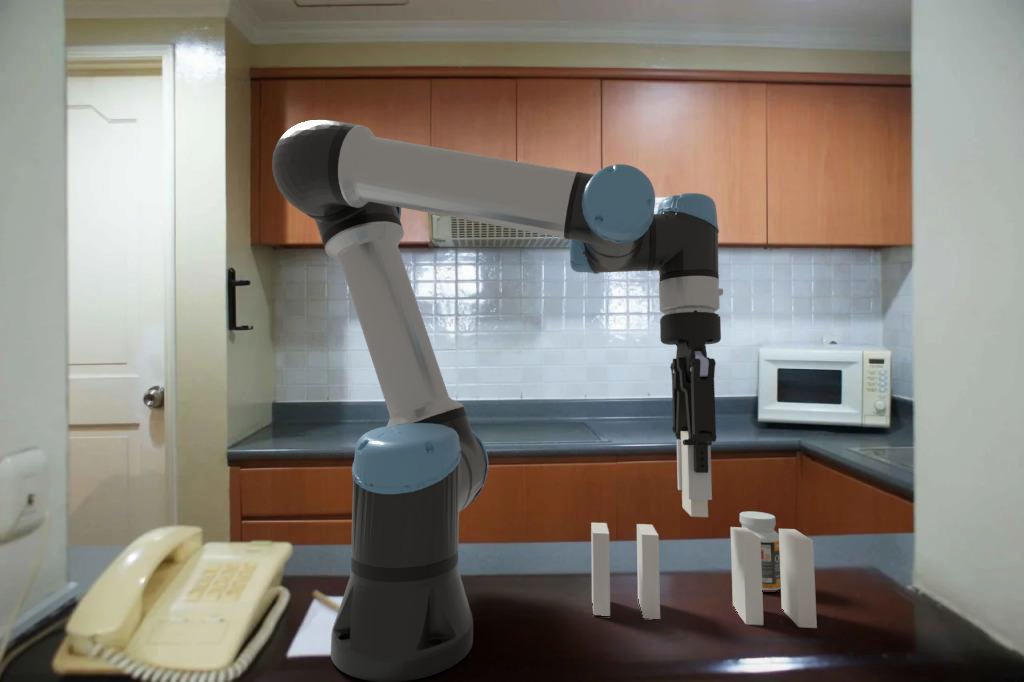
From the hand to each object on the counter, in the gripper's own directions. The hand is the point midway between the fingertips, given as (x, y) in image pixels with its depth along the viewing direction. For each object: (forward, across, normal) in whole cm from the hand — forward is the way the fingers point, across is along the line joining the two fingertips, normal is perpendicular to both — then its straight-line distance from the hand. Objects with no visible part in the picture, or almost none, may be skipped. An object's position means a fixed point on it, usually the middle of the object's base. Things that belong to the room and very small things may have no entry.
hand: (693, 493), depth 66 cm
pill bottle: (+15, +10, -11) cm, 21 cm away
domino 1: (+15, 0, +12) cm, 19 cm away
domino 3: (+2, 0, 0) cm, 2 cm away
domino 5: (+15, 0, -12) cm, 19 cm away
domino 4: (+15, 0, -6) cm, 16 cm away
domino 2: (+15, 0, +6) cm, 16 cm away
